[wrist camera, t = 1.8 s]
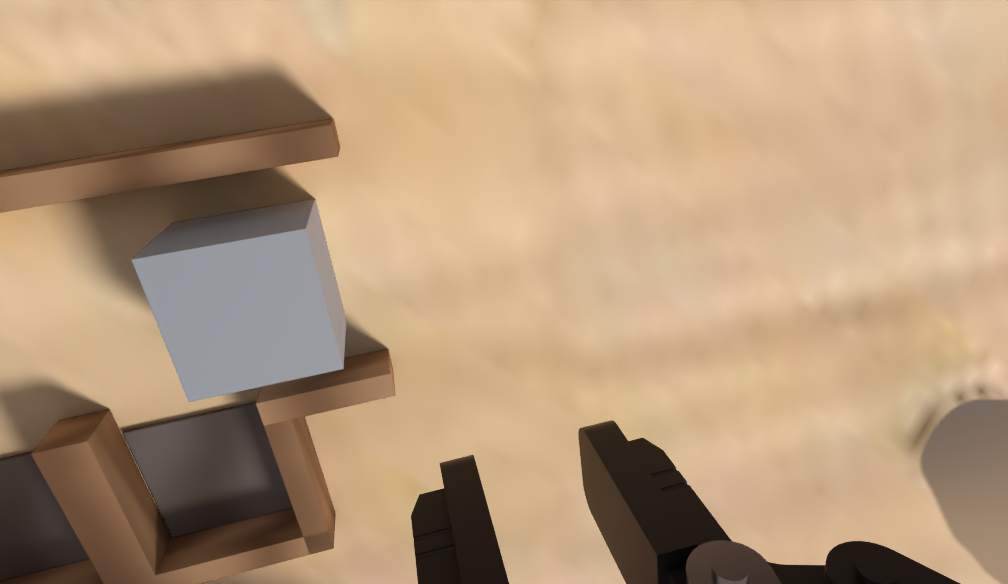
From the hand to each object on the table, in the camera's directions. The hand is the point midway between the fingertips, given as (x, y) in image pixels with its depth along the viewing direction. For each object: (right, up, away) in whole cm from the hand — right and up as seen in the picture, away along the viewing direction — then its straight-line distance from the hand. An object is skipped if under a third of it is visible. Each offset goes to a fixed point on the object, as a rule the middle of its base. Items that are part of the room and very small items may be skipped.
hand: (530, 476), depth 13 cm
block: (-11, +5, +14) cm, 19 cm away
